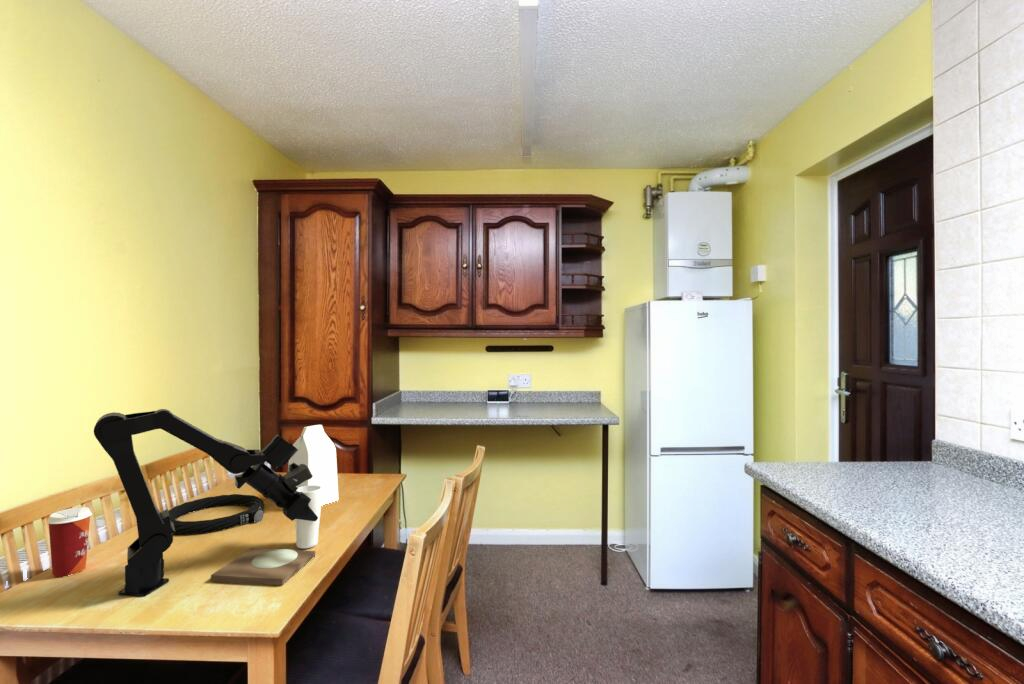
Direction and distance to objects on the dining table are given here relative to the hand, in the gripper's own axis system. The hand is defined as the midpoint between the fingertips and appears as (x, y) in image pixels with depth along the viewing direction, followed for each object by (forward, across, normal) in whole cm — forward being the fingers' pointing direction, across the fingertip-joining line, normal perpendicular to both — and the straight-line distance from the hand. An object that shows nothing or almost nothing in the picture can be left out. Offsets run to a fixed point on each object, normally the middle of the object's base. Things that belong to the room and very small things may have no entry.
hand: (312, 515), depth 124 cm
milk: (+13, +34, -2) cm, 36 cm away
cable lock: (-6, +38, +18) cm, 43 cm away
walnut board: (-4, -7, +14) cm, 16 cm away
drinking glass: (+4, 0, +6) cm, 8 cm away
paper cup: (-29, +20, +40) cm, 53 cm away
